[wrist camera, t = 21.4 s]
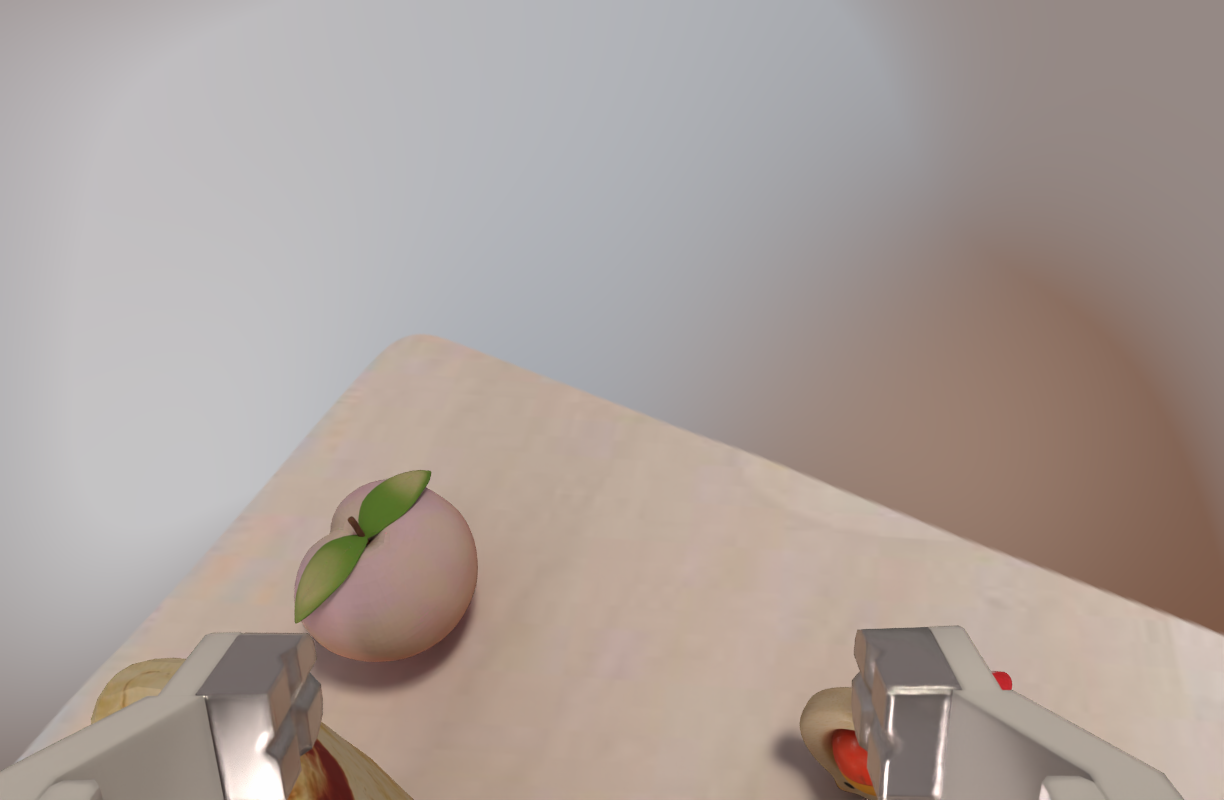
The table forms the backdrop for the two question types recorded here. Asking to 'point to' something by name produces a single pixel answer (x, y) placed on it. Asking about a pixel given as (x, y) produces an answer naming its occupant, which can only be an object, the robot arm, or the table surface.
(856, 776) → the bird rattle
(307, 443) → the table surface
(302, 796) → the food model
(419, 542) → the decorative fruit
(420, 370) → the table surface
